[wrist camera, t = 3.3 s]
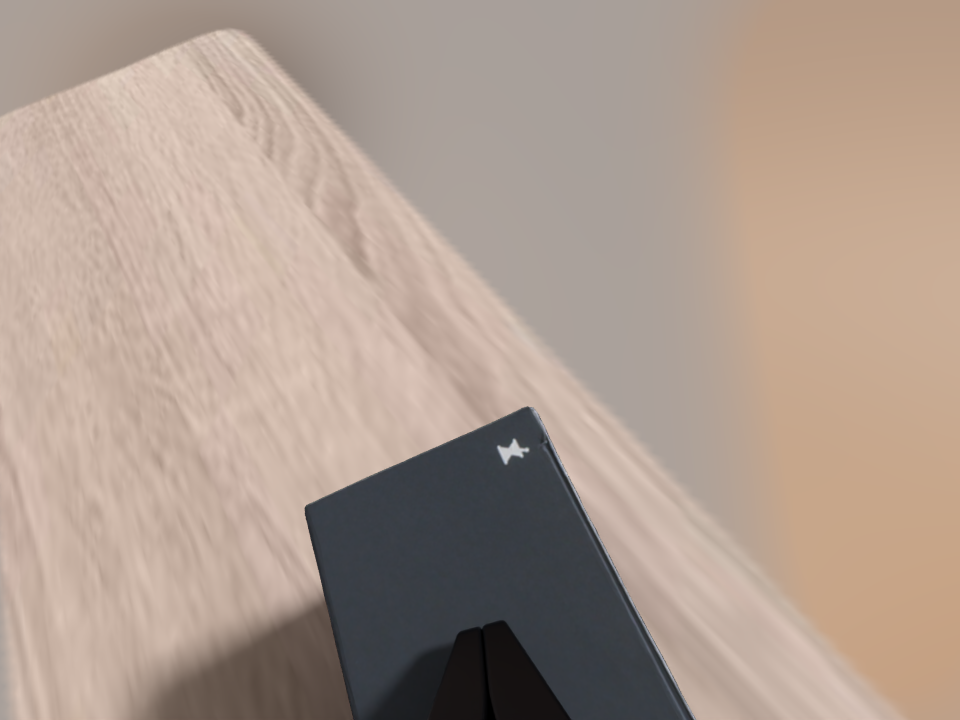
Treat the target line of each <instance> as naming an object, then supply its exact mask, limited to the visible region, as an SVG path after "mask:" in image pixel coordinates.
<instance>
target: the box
mask: <svg viewBox="0 0 960 720" xmlns="http://www.w3.org/2000/svg"><path fill="white" fill-rule="evenodd" d="M305 516H306V521H307V525H308V529H309V533H310V538H311V542H312V546H313V550H314V554H315V558H316V562H317V566H318V570H319V574H320V579H321V583H322V587H323V592H324V596H325V600H326V604H327V608H328V612H329V616H330V620H331V625H332V629H333V634H334V638H335V643H336V647H337V651H338V655H339V659H340V664H341V668H342V672H343V676H344V681H345V685H346V689H347V693H348V698H349V702H350V706H351V711H352V715H353V719H354V720H427V719H428V717H429V714H430V711H431V708H432V705H433V702H434V699H435V696H436V694H437V691H438V688H439V685H440V682H441V679H442V676H443V673H444V670H445V668H446V665H447V662H448V659H449V656H450V653H451V650H452V647H453V645H454V642H455V639H456V636H457V634H458V633H459V632H460V631H462V630H466V629H469V628H473V627H477V626H478V627H481V628H483V626H484V625H485V624H488V623H492V622H495V621H499V620H504V621H505V622H506V623H507V624H508V625H509V627H510V628H511V630H512V631H513V633H514V634H515V636H516V637H517V639H518V640H519V642H520V643H521V645H522V646H523V648H524V649H525V651H526V652H527V654H528V655H529V657H530V658H531V660H532V661H533V663H534V664H535V666H536V667H537V669H538V670H539V672H540V673H541V675H542V676H543V678H544V679H545V681H546V682H547V684H548V685H549V687H550V688H551V690H552V691H553V693H554V694H555V696H556V697H557V699H558V700H559V702H560V703H561V705H562V706H563V708H564V709H565V711H566V712H567V714H568V715H569V717H570V718H571V720H696V719H695V717H694V715H693V713H692V712H691V710H690V708H689V706H688V704H687V703H686V701H685V699H684V697H683V695H682V694H681V691H680V689H679V687H678V685H677V683H676V681H675V679H674V677H673V675H672V673H671V672H670V670H669V668H668V666H667V664H666V662H665V660H664V658H663V656H662V654H661V653H660V651H659V649H658V647H657V645H656V644H655V642H654V640H653V638H652V636H651V635H650V633H649V631H648V629H647V627H646V625H645V623H644V621H643V620H642V618H641V616H640V614H639V612H638V611H637V609H636V607H635V605H634V603H633V601H632V599H631V598H630V596H629V594H628V592H627V590H626V588H625V586H624V584H623V582H622V580H621V578H620V576H619V574H618V572H617V570H616V568H615V566H614V564H613V562H612V560H611V558H610V556H609V554H608V552H607V550H606V548H605V547H604V545H603V543H602V541H601V539H600V537H599V535H598V533H597V530H596V528H595V527H594V525H593V523H592V522H591V520H590V518H589V516H588V514H587V512H586V510H585V508H584V506H583V504H582V502H581V500H580V497H579V495H578V493H577V491H576V490H575V488H574V486H573V484H572V482H571V480H570V478H569V476H568V474H567V472H566V470H565V468H564V466H563V464H562V462H561V460H560V458H559V456H558V454H557V452H556V450H555V448H554V445H553V444H552V442H551V440H550V438H549V435H548V433H547V431H546V429H545V426H544V424H543V423H542V421H541V418H540V416H539V414H538V413H537V412H536V410H535V409H534V408H532V407H528V406H527V407H524V408H521V409H519V410H517V411H515V412H513V413H511V414H509V415H507V416H505V417H503V418H500V419H498V420H496V421H494V422H492V423H490V424H487V425H485V426H483V427H480V428H478V429H476V430H474V431H472V432H470V433H467V434H465V435H463V436H460V437H458V438H456V439H453V440H451V441H449V442H447V443H444V444H442V445H440V446H437V447H435V448H433V449H431V450H428V451H426V452H424V453H421V454H419V455H417V456H415V457H412V458H410V459H408V460H406V461H404V462H401V463H399V464H397V465H394V466H392V467H390V468H387V469H385V470H382V471H380V472H378V473H376V474H373V475H371V476H369V477H366V478H364V479H362V480H360V481H358V482H356V483H353V484H351V485H349V486H347V487H345V488H343V489H340V490H338V491H336V492H334V493H332V494H329V495H327V496H325V497H323V498H321V499H319V500H317V501H315V502H312V503H310V504H308V505H306V506H305Z"/></svg>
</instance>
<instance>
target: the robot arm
mask: <svg viewBox="0 0 960 720" xmlns="http://www.w3.org/2000/svg"><path fill="white" fill-rule="evenodd" d="M427 720H571V718H570V717H569V715H568V714H567V712H566V711H565V709H564V708H563V706H562V705H561V703H560V702H559V700H558V699H557V697H556V696H555V694H554V693H553V691H552V690H551V688H550V687H549V685H548V684H547V682H546V681H545V679H544V678H543V676H542V675H541V673H540V672H539V670H538V669H537V667H536V666H535V664H534V663H533V661H532V660H531V658H530V657H529V655H528V654H527V652H526V651H525V649H524V648H523V646H522V645H521V643H520V642H519V640H518V639H517V637H516V636H515V634H514V633H513V631H512V630H511V628H510V627H509V625H508V624H507V623H506V622H505V621H504V620H499V621H495V622H492V623H488V624H485V625H484V626H483V628H481V627H478V626H477V627H473V628H469V629H466V630H462V631H460V632H459V633H458V634H457V636H456V639H455V642H454V645H453V647H452V650H451V653H450V656H449V659H448V662H447V665H446V668H445V670H444V673H443V676H442V679H441V682H440V685H439V688H438V691H437V694H436V696H435V699H434V702H433V705H432V708H431V711H430V714H429V717H428V719H427Z"/></svg>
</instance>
